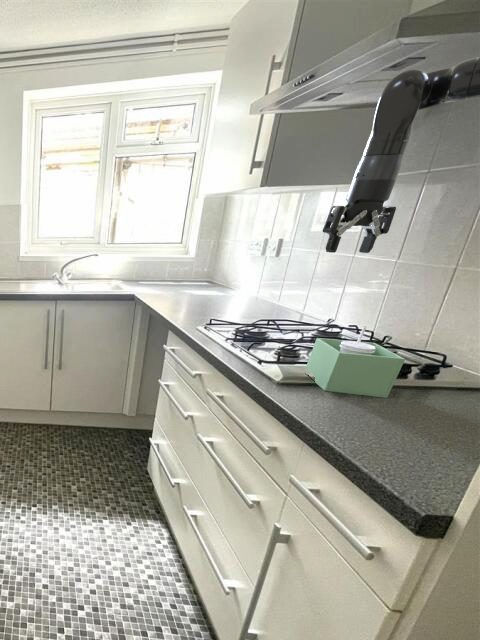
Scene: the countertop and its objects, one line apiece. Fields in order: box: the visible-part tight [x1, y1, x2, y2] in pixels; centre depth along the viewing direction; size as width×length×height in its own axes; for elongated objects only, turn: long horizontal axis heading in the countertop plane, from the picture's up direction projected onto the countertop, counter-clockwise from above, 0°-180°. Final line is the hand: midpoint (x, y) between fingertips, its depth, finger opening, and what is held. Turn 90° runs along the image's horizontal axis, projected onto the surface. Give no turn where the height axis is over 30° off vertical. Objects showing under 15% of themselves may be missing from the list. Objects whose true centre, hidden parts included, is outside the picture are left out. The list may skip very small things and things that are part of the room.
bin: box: [305, 337, 406, 399], centre depth 101 cm, size 12×12×10 cm
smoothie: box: [340, 325, 376, 355], centre depth 100 cm, size 6×6×14 cm
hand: (347, 252), depth 101 cm, fingers open, 8 cm apart
